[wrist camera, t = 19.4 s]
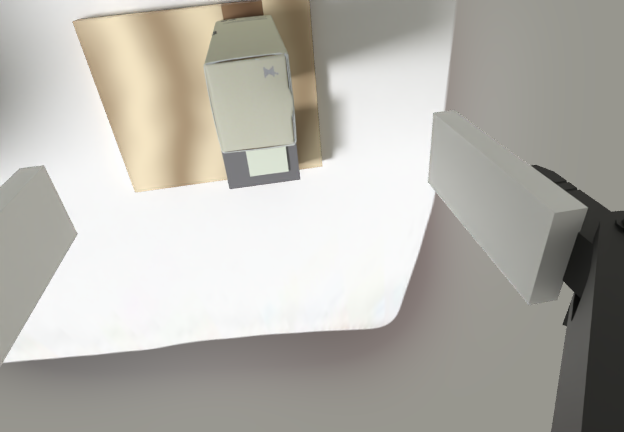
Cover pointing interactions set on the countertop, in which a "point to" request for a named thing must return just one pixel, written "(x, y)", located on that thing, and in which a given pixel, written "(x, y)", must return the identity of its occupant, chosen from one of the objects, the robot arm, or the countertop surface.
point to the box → (250, 85)
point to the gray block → (261, 166)
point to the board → (186, 87)
